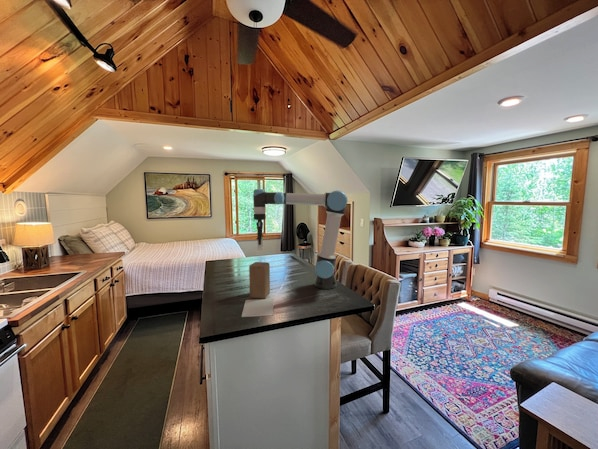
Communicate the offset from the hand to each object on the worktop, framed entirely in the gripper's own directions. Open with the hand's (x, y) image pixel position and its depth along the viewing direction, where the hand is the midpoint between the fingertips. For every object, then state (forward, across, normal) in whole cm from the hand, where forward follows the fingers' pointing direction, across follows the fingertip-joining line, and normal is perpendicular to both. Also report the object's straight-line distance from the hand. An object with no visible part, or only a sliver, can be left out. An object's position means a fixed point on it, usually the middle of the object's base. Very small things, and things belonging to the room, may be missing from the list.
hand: (260, 248), depth 162 cm
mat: (+27, +29, 0) cm, 40 cm away
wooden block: (+28, +12, 0) cm, 30 cm away
